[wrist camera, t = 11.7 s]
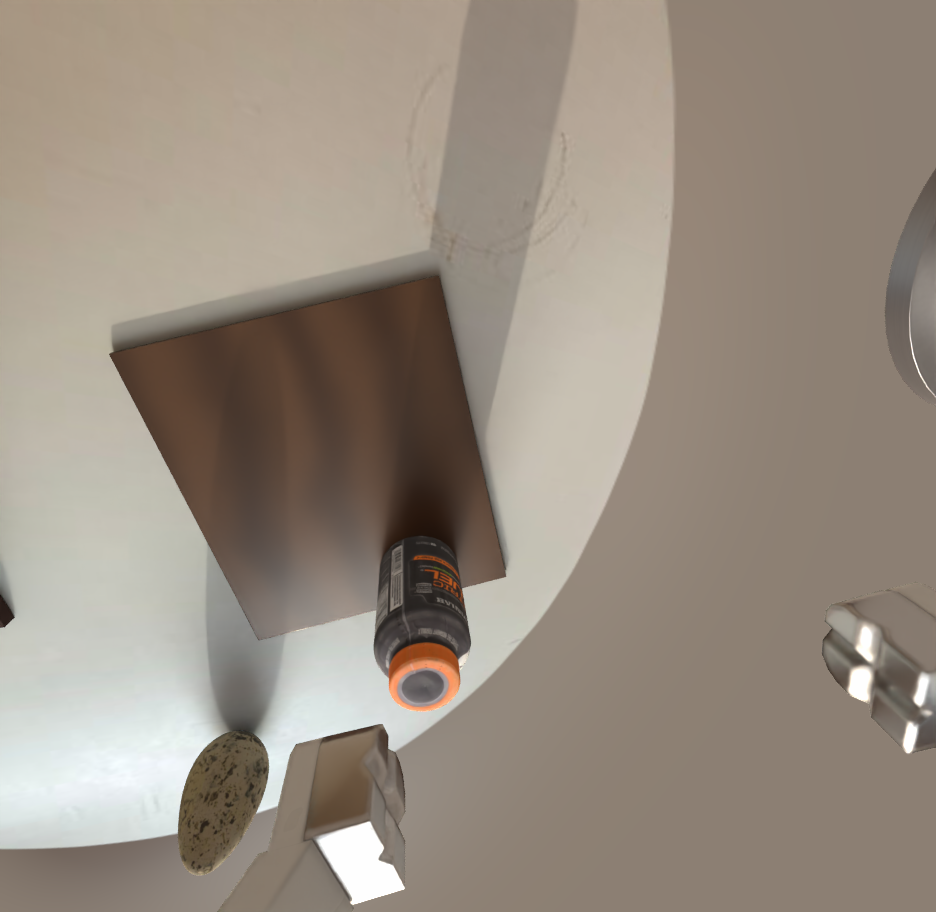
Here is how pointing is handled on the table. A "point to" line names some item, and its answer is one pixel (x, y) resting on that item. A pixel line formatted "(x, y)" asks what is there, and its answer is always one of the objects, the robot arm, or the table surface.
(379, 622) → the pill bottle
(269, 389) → the walnut mat
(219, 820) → the decorative egg
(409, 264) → the table surface
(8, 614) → the book
